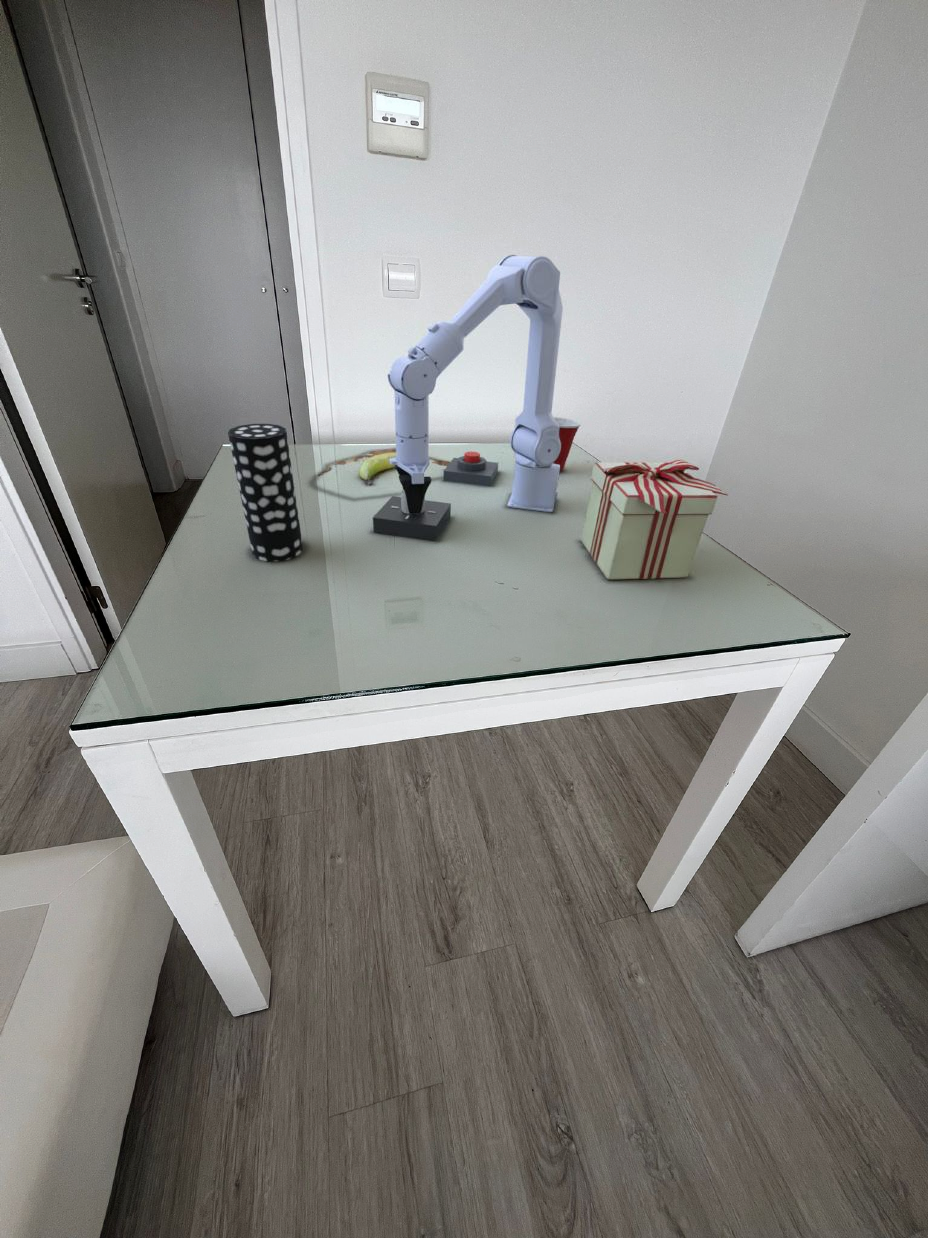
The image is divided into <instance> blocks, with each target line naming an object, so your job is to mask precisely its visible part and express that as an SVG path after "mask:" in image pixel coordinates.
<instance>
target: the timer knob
mask: <svg viewBox="0 0 928 1238" xmlns="http://www.w3.org/2000/svg"><path fill="white" fill-rule="evenodd" d="M400 492H401V493H400V497H401V510H402V512H404V513H406V514H410V513H409V510H408V506H407V501H406V495H405V491H404V490H403V489H401V490H400ZM425 500H426V496H425V497H424V501H423V506H422V510H421V513H423V512H424V511H425Z"/></svg>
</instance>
